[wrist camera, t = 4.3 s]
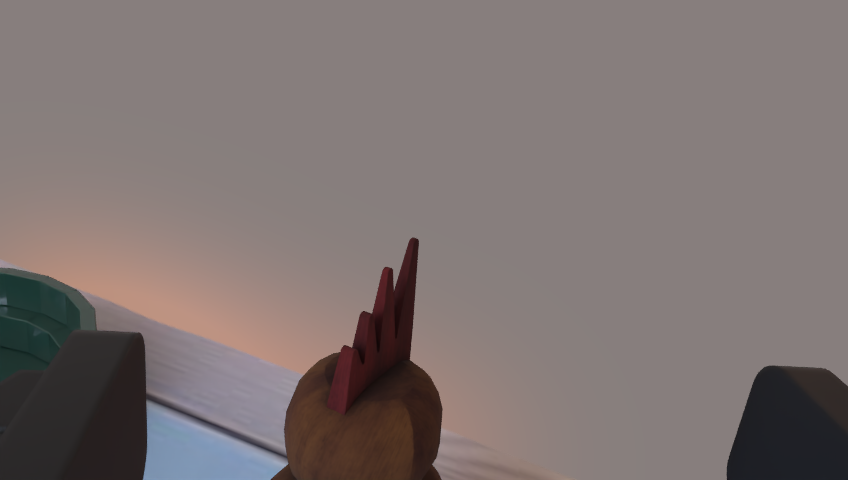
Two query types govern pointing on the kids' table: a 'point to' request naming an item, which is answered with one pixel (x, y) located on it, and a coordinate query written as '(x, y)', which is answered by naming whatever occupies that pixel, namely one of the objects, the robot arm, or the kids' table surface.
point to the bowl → (37, 319)
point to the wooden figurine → (368, 399)
